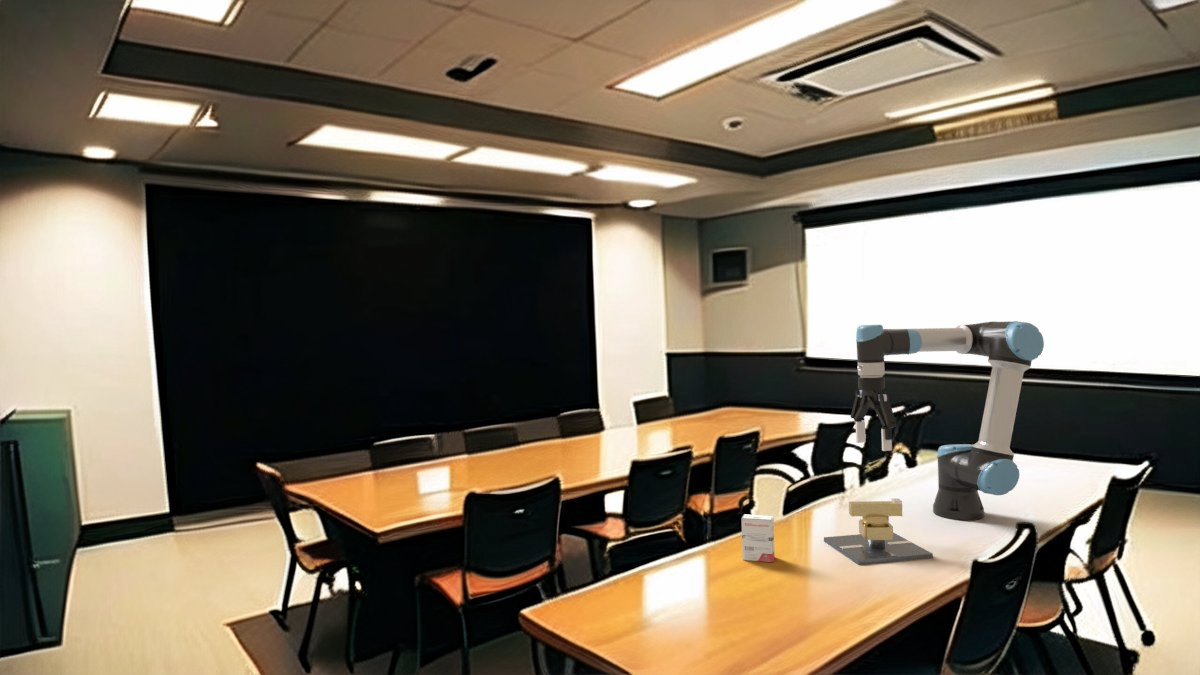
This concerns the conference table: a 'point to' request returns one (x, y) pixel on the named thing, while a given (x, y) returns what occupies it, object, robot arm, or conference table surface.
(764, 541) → the ink box
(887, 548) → the plate
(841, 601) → the conference table surface
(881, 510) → the collar
